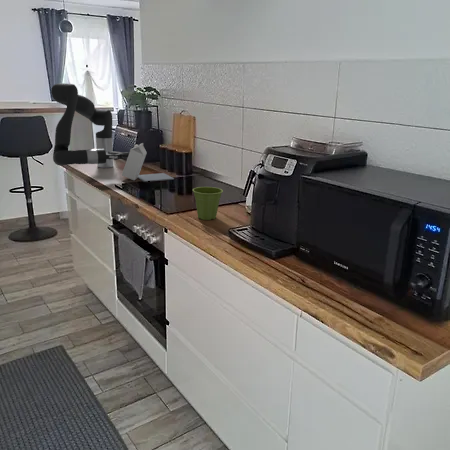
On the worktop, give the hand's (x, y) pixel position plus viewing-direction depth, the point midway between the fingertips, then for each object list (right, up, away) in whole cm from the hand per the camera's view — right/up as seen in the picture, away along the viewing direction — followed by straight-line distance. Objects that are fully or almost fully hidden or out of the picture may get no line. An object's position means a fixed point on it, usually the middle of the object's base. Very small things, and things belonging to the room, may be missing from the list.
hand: (129, 154), depth 231 cm
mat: (+12, -11, +9) cm, 19 cm away
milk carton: (-1, -11, +4) cm, 12 cm away
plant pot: (+43, -34, -56) cm, 79 cm away
